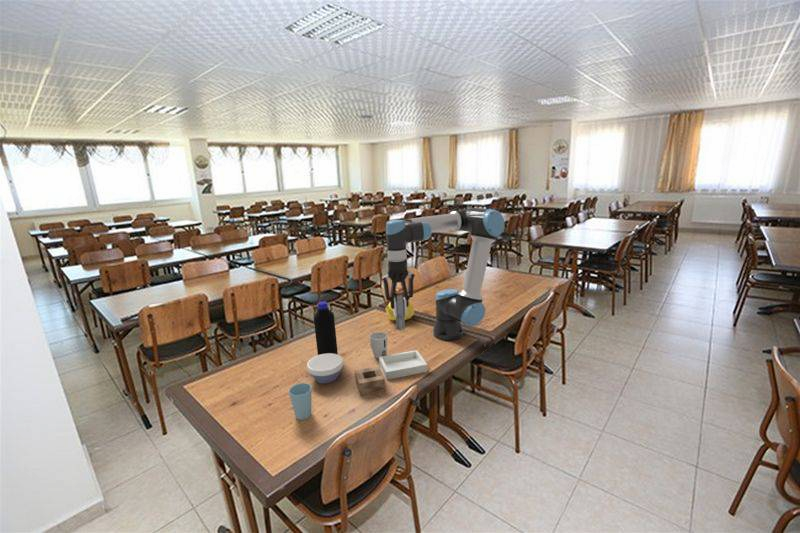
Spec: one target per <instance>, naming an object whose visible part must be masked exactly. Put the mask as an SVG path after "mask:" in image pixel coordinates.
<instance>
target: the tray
mask: <svg viewBox="0 0 800 533" xmlns="http://www.w3.org/2000/svg"><path fill="white" fill-rule="evenodd" d="M378 363H379V367H380V369H381V372H382V374H383V376H384V378H385V379H386V380H392V379H397V378H398V379H399V378H402V377H407V376H411V375H412V376H413V375H417V374H423V372H424V373H428V363H427V362H426V360H425V359H424V357H423V356H422V355H421V354H420V352H419V351H418V350H417V349H416V350H411V351H404V352H397V353H393V354H387V355H385V356H380V357H379V358H378Z"/></svg>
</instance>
